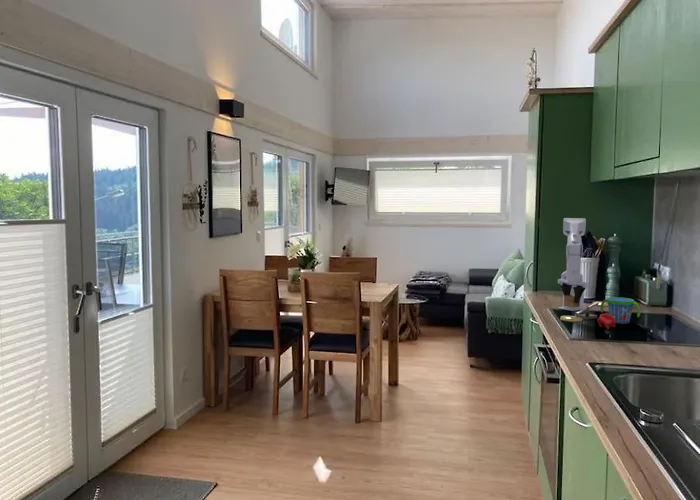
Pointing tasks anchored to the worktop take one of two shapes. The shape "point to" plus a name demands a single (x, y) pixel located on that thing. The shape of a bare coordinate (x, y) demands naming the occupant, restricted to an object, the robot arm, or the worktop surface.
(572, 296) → the block
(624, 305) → the snack cup
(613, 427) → the worktop surface
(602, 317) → the red toy piece
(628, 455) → the worktop surface
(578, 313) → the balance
